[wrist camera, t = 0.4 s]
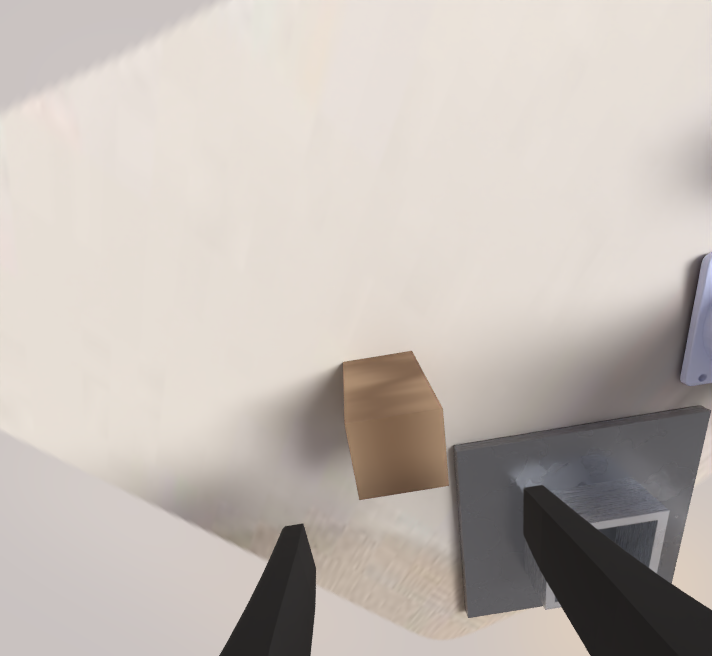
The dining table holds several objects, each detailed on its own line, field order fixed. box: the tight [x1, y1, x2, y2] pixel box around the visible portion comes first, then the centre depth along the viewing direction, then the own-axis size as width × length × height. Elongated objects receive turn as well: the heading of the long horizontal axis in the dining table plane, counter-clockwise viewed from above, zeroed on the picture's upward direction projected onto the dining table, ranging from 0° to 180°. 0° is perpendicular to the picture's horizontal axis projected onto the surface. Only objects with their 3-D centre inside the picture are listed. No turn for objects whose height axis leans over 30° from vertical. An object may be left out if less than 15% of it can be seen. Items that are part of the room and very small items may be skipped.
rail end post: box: [343, 351, 449, 500], centre depth 17 cm, size 4×4×6 cm
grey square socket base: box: [454, 406, 711, 618], centre depth 22 cm, size 16×16×3 cm
